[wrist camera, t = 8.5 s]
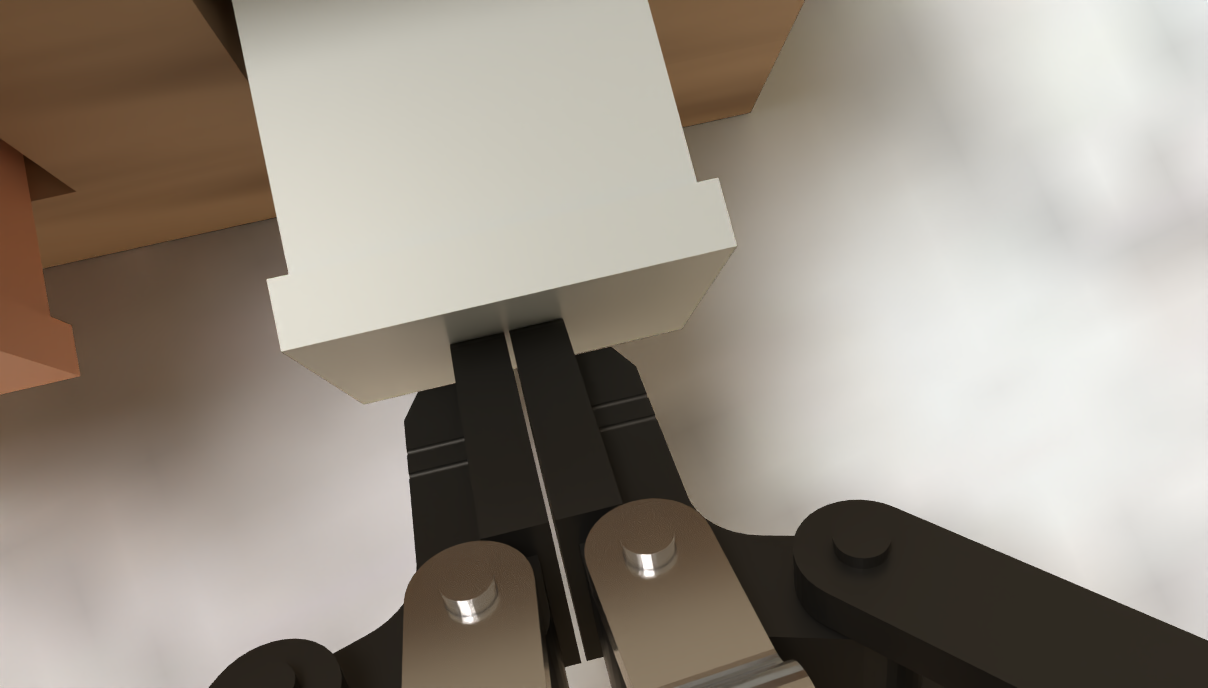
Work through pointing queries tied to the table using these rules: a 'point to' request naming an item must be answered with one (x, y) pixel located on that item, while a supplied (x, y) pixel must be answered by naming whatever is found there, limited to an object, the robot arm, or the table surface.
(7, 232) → the salmon key
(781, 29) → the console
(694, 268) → the grey key
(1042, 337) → the table surface
